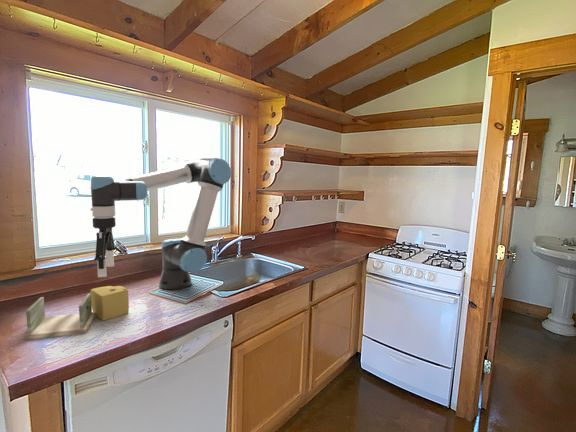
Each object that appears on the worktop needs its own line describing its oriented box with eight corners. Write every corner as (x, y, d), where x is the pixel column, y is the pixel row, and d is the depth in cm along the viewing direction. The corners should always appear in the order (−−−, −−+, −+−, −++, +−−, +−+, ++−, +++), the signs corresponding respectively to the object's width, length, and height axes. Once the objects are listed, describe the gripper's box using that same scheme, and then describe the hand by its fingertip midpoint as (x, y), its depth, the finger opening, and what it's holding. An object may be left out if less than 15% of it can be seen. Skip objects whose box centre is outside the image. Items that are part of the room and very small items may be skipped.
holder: (95, 315, 126) (94, 292, 125) (86, 332, 113) (84, 306, 111) (40, 321, 120) (38, 296, 119) (23, 339, 107) (21, 312, 106)
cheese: (118, 305, 136) (117, 282, 134) (130, 313, 129) (129, 289, 128) (90, 313, 128) (89, 289, 126) (102, 322, 121) (100, 296, 120)
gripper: (100, 212, 134) (103, 263, 137) (83, 222, 111) (86, 282, 114) (120, 212, 137) (122, 262, 139) (107, 221, 113) (110, 281, 116)
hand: (106, 271), depth 126 cm, fingers open, 13 cm apart
